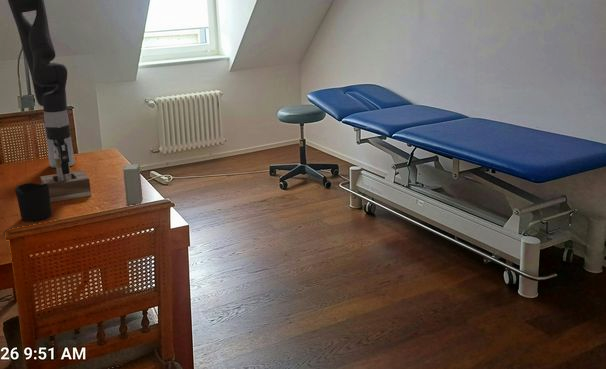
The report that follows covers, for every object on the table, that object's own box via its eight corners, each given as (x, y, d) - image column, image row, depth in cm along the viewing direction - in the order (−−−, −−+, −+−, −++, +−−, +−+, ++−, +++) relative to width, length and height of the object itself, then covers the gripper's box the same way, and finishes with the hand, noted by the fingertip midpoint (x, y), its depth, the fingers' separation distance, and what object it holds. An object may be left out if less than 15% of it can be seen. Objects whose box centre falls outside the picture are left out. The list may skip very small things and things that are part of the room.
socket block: (42, 193, 219) (40, 176, 217) (84, 186, 225) (82, 170, 224) (47, 202, 209) (45, 185, 207) (91, 195, 215) (89, 178, 214)
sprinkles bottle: (74, 190, 216) (69, 152, 212) (60, 192, 214) (55, 154, 210) (71, 187, 220) (66, 149, 216) (57, 189, 218) (52, 151, 214)
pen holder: (46, 210, 202) (41, 180, 199) (57, 217, 195) (53, 186, 192) (16, 217, 196) (10, 186, 193) (26, 225, 189) (21, 193, 186)
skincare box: (129, 199, 211) (125, 164, 207) (143, 198, 211) (139, 163, 207) (126, 205, 205) (122, 169, 201) (140, 204, 205) (136, 168, 201)
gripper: (42, 121, 214) (49, 167, 219) (48, 129, 202) (55, 177, 207) (65, 118, 218) (71, 164, 222) (72, 126, 206) (79, 174, 211)
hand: (63, 170), depth 215 cm, fingers open, 8 cm apart
